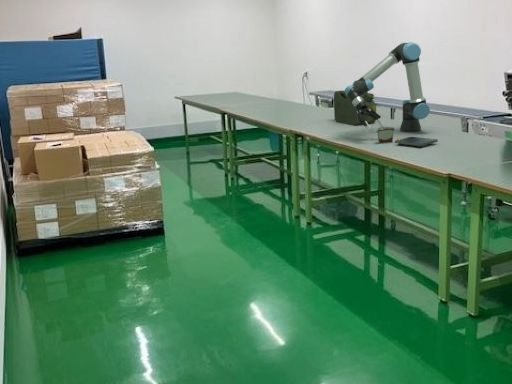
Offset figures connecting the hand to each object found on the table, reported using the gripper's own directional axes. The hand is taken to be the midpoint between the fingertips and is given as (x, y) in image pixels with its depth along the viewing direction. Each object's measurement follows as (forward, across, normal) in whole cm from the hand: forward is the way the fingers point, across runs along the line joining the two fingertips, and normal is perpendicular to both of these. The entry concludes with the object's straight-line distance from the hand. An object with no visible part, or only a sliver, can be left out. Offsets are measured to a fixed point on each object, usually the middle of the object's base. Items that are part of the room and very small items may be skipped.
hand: (376, 128), depth 363 cm
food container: (+11, -2, -3) cm, 11 cm away
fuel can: (-44, -58, -59) cm, 94 cm away
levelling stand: (+26, -7, +13) cm, 30 cm away
